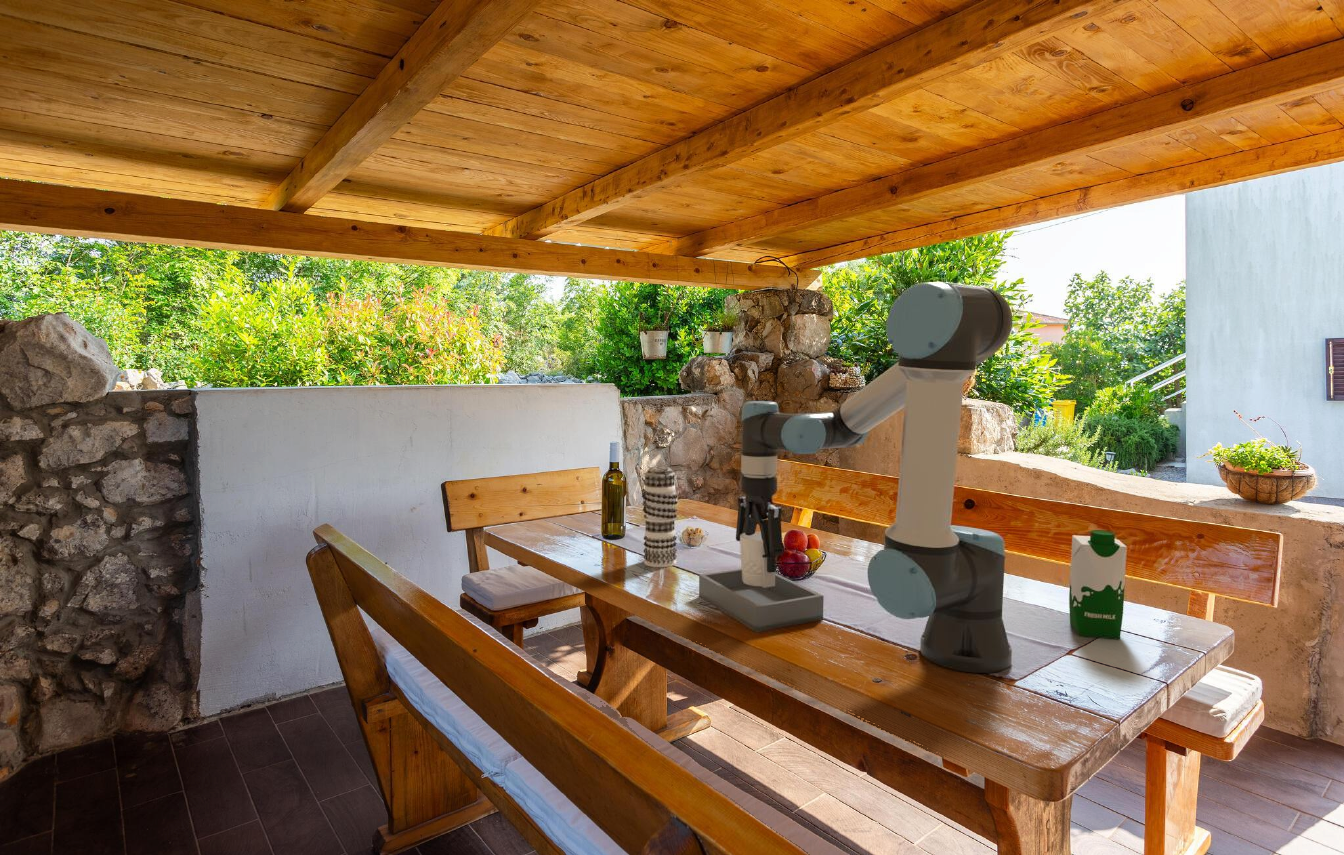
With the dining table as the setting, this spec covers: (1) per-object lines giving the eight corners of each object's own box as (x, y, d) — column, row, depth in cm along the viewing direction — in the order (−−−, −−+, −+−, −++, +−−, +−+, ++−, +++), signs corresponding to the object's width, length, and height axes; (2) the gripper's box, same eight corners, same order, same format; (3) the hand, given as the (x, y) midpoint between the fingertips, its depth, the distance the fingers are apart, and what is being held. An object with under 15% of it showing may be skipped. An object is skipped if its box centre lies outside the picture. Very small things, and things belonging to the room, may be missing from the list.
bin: (823, 619, 150) (823, 595, 150) (755, 632, 143) (756, 607, 143) (760, 586, 172) (760, 565, 171) (699, 596, 165) (699, 574, 164)
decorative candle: (636, 560, 194) (635, 466, 192) (667, 556, 199) (667, 464, 196) (652, 569, 186) (651, 471, 184) (684, 564, 191) (683, 468, 188)
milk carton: (1075, 637, 140) (1080, 533, 138) (1063, 620, 149) (1068, 523, 147) (1127, 641, 138) (1132, 536, 136) (1112, 625, 146) (1117, 526, 145)
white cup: (775, 576, 161) (776, 531, 160) (777, 588, 153) (778, 541, 152) (739, 575, 161) (740, 530, 160) (739, 587, 154) (739, 540, 153)
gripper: (802, 481, 147) (800, 592, 149) (749, 467, 166) (748, 566, 168) (770, 483, 144) (769, 597, 146) (719, 469, 162) (719, 570, 165)
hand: (758, 580), depth 157 cm, fingers closed on white cup, 7 cm apart
